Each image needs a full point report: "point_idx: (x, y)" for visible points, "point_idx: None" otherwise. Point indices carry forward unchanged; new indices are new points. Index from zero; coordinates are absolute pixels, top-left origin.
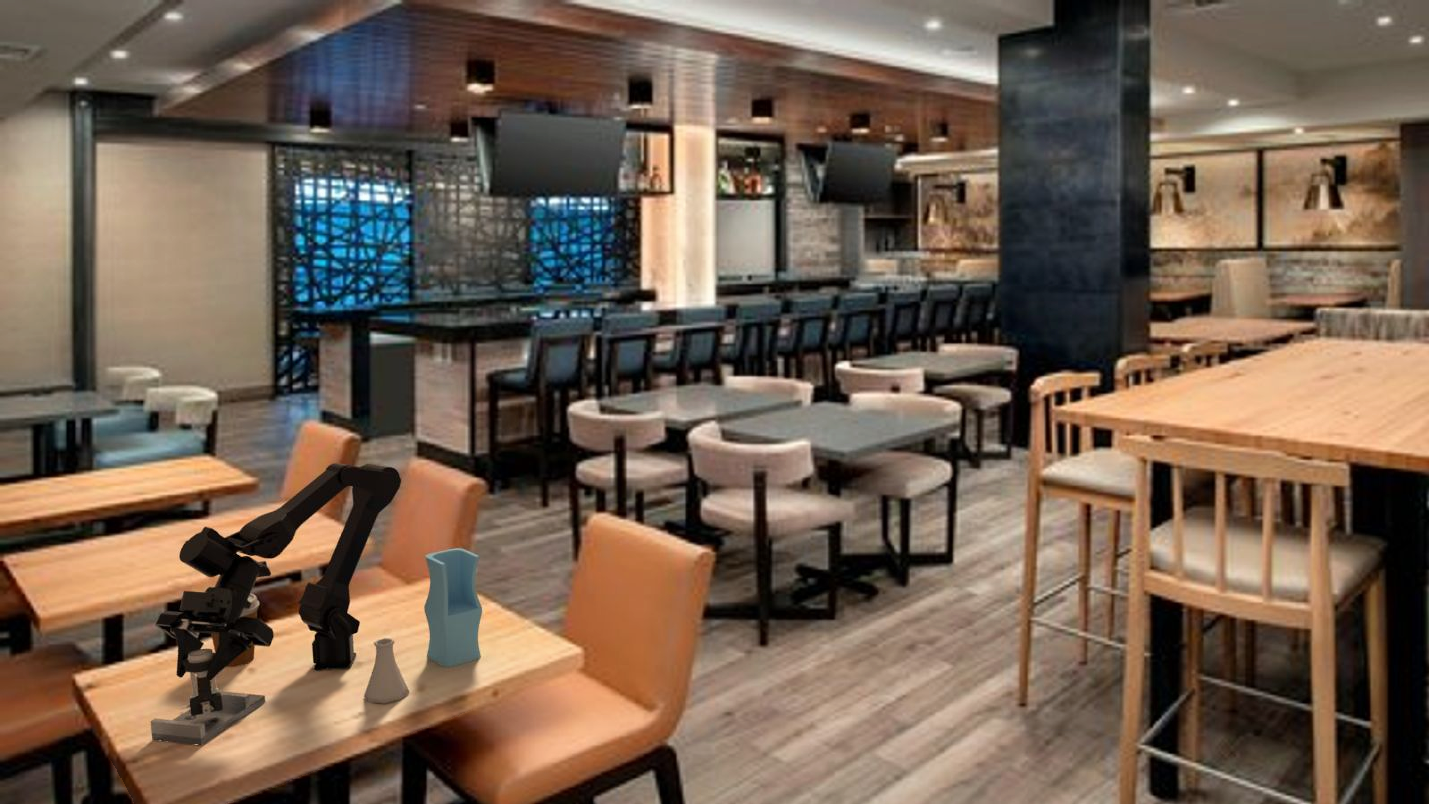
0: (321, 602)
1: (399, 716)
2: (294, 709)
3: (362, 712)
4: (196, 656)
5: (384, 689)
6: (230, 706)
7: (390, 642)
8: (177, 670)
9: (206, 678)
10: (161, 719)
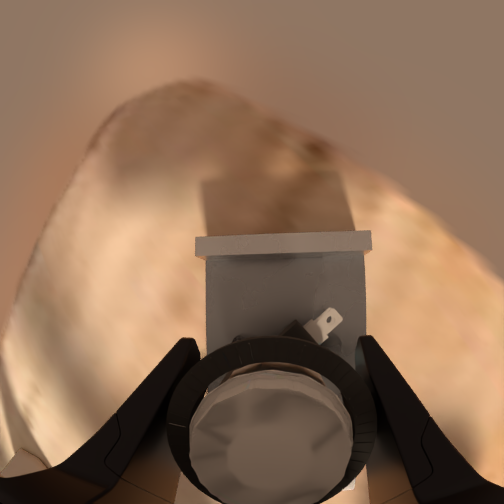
0: None
1: None
2: None
3: (28, 425)
4: (240, 392)
5: (10, 461)
6: None
7: None
8: (377, 348)
9: (192, 338)
10: (347, 248)
